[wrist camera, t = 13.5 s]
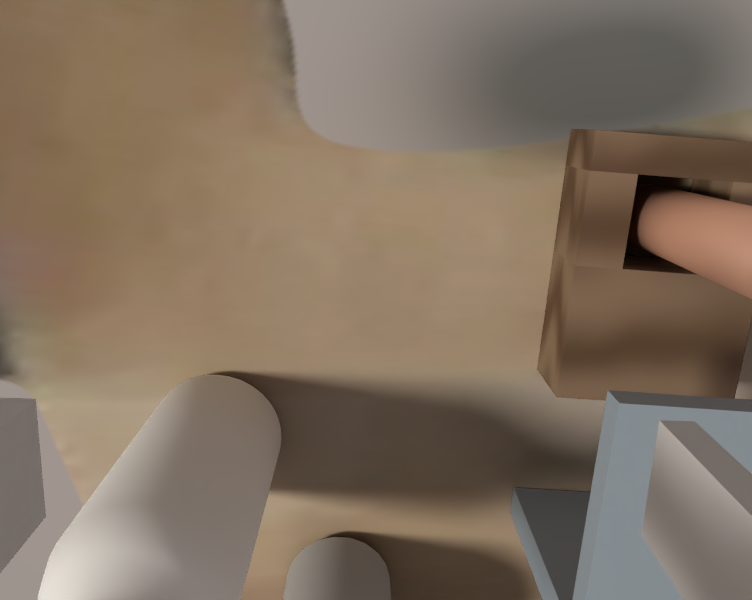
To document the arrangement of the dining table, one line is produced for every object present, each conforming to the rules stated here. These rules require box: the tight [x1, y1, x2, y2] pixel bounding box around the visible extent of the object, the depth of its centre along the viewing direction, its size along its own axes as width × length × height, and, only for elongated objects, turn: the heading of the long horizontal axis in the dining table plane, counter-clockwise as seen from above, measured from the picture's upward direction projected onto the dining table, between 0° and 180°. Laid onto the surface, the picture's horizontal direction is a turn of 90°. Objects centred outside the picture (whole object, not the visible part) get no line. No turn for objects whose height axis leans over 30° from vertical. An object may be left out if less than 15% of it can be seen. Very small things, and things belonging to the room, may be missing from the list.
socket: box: [537, 129, 752, 400], centre depth 44 cm, size 16×11×5 cm
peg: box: [627, 184, 752, 299], centre depth 37 cm, size 4×4×16 cm
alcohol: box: [38, 375, 282, 600], centre depth 34 cm, size 9×9×30 cm
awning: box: [510, 390, 752, 600], centre depth 41 cm, size 16×12×16 cm
